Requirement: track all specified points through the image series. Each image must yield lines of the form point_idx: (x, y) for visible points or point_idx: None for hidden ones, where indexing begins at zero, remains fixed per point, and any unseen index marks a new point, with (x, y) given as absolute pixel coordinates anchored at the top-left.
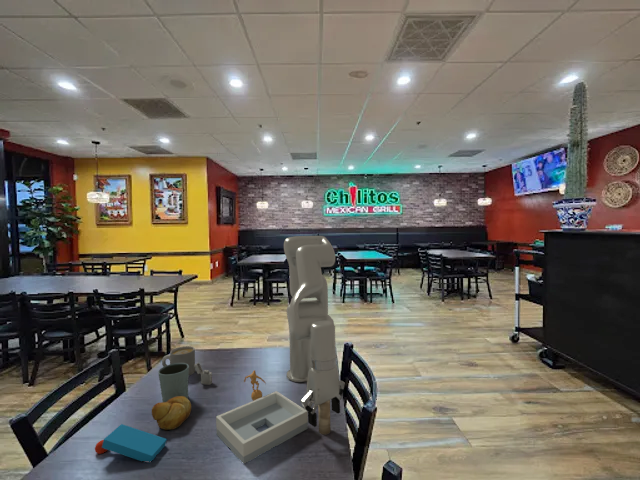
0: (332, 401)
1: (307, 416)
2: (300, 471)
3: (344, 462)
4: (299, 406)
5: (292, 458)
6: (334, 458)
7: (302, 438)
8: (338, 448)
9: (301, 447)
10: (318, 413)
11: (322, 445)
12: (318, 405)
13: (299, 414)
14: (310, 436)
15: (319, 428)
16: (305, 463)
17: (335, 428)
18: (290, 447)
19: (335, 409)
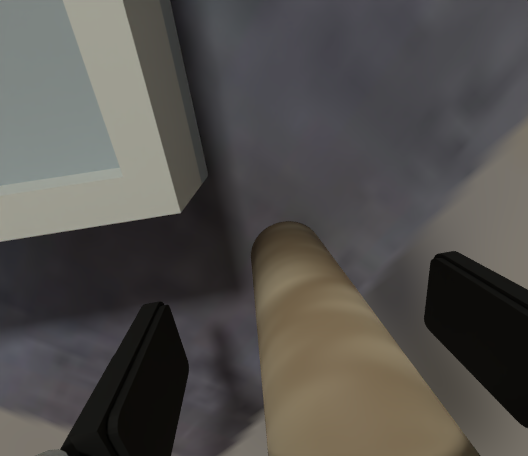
0: (517, 327)
1: (192, 196)
2: (44, 410)
3: (233, 435)
4: (115, 20)
5: (25, 342)
6: (212, 410)
7: (132, 242)
8: (261, 379)
9: (98, 301)
10: (266, 317)
11: (209, 336)
12: (273, 427)
13: (48, 223)
14: (186, 252)
15: (252, 266)
16: (81, 387)
17: (349, 267)
18: (33, 272)
19: (444, 316)
